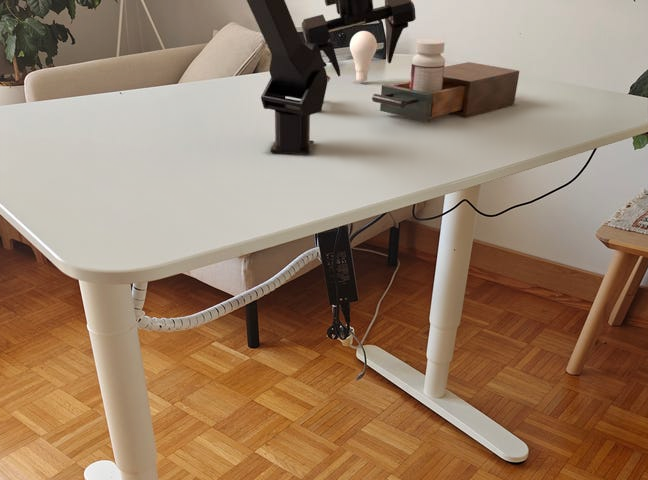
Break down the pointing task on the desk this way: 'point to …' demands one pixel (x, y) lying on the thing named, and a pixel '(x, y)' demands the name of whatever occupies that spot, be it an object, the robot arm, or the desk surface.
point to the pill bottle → (428, 66)
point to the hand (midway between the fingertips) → (364, 68)
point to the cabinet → (483, 86)
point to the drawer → (420, 100)
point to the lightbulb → (362, 53)
